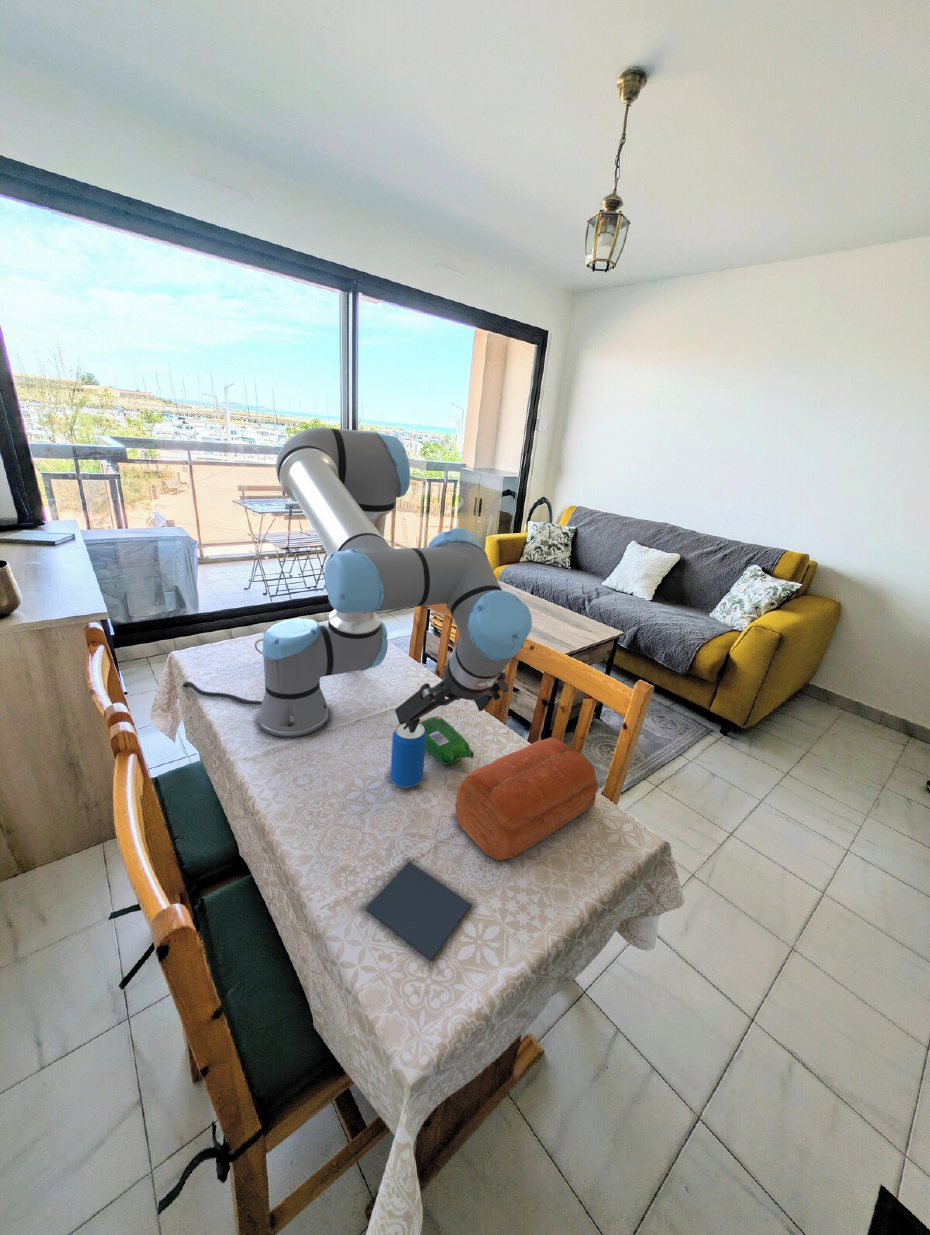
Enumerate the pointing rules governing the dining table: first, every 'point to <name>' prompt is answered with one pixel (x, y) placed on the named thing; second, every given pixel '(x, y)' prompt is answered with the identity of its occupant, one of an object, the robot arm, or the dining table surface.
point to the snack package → (445, 741)
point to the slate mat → (419, 909)
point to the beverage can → (407, 755)
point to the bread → (524, 797)
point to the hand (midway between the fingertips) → (445, 714)
